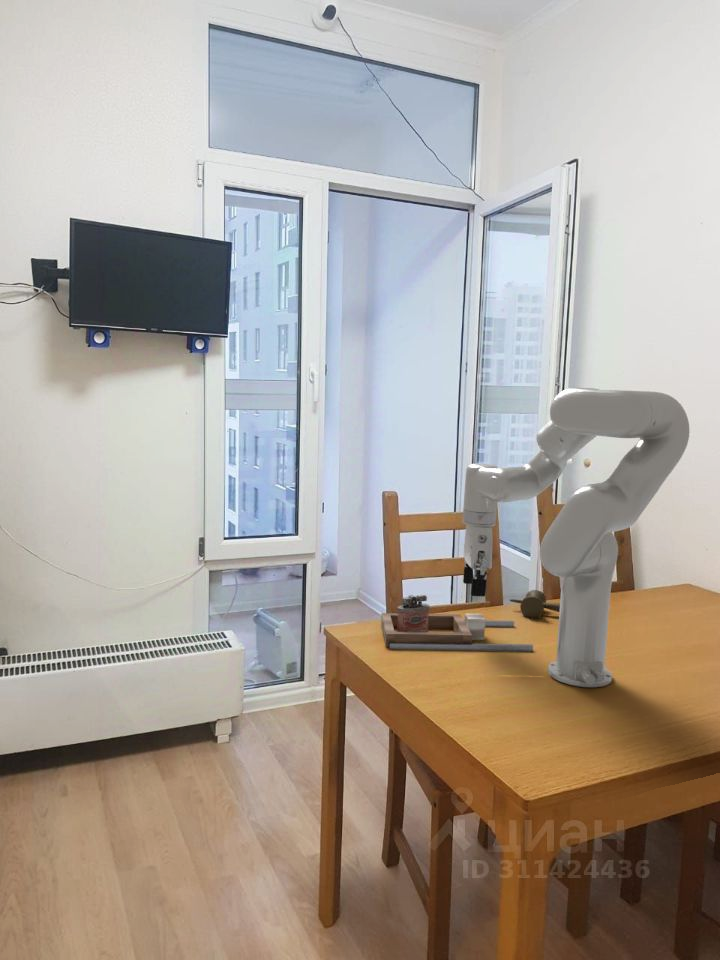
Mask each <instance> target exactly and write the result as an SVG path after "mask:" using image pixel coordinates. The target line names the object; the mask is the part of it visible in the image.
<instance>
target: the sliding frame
mask: <svg viewBox="0 0 720 960" xmlns="http://www.w3.org/2000/svg"><path fill="white" fill-rule="evenodd" d="M380 616H381V619H380V624H381V625H380V626H381V631H382V635H383V641H384V645H385V647H386V648H389V646H390V642H400V643H465V644H473V641H485V632H486V627H485V620H486V618H485V616H484V615H483V614H482V613H464V618H463V617H462V615H461V614H454V613H453V614H452V613H451V614H445V613H444V614H443V613H440V614H439V613H436V614H435V613H428V629H452V630H453V632H437V631H436V632H434V631H433V632H431V631H428V632H397V631H395V628H397V626H398V612H397V613H396V612H395V613H393V612H392V613H391V612H390V613H387V612H386V613H384V612H383V613H381V615H380ZM464 620H465V622H464Z"/></svg>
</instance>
